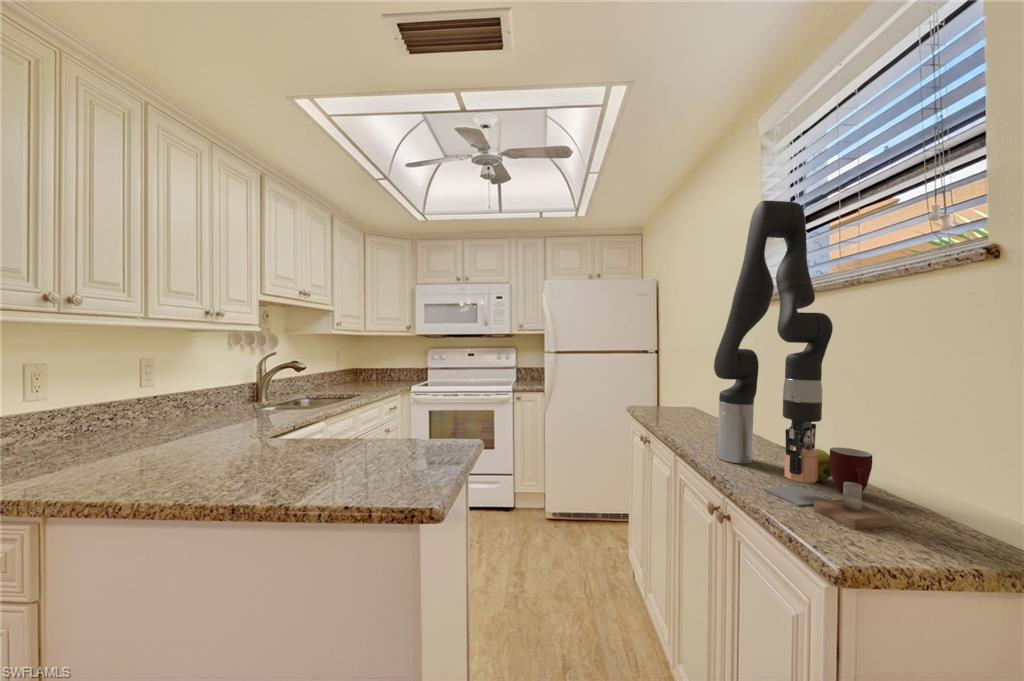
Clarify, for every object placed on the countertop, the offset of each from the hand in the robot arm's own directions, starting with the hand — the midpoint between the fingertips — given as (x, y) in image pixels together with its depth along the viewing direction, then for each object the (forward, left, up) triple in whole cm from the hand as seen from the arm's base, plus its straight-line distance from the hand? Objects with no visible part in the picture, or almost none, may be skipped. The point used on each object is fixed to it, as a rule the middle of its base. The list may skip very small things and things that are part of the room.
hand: (800, 470), depth 101 cm
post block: (+12, +1, -6) cm, 13 cm away
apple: (-10, +15, -6) cm, 19 cm away
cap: (0, 0, -2) cm, 2 cm away
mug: (+1, +14, -6) cm, 15 cm away
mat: (0, 0, -6) cm, 6 cm away
